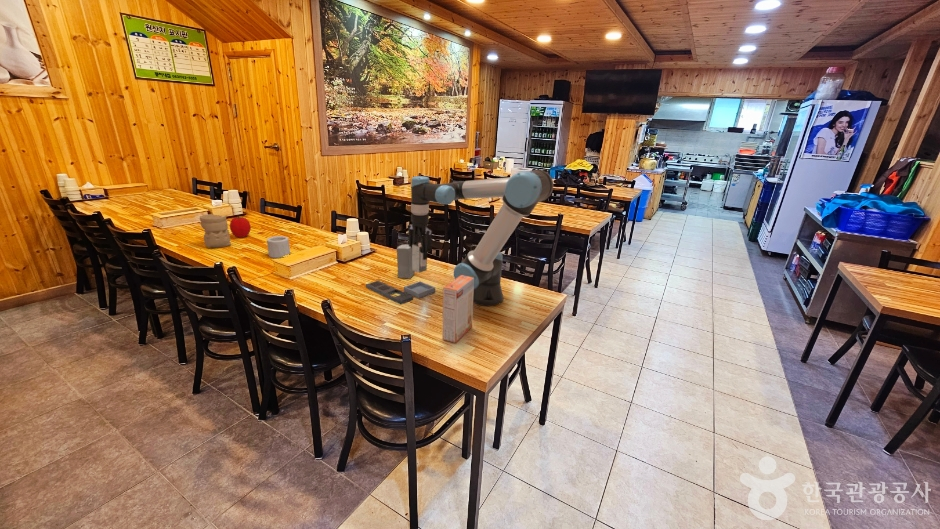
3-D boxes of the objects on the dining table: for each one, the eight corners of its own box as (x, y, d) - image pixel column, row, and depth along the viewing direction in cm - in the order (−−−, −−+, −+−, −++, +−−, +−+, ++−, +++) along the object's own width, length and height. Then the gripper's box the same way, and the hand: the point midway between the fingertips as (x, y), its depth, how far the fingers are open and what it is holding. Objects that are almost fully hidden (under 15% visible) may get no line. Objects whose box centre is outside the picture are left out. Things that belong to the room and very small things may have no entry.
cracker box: (458, 323, 146) (461, 273, 139) (472, 327, 143) (475, 277, 136) (440, 339, 134) (442, 286, 127) (455, 344, 131) (458, 290, 124)
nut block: (426, 270, 168) (427, 245, 164) (419, 272, 165) (419, 247, 161) (419, 267, 171) (420, 242, 167) (412, 270, 168) (412, 244, 163)
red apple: (226, 238, 233) (222, 217, 228) (240, 233, 244) (237, 213, 240) (243, 240, 231) (239, 219, 226) (256, 235, 242) (253, 215, 238)
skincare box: (409, 279, 185) (409, 249, 180) (396, 277, 187) (395, 247, 181) (415, 273, 193) (415, 244, 188) (402, 271, 194) (402, 243, 189)
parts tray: (435, 292, 172) (435, 287, 171) (418, 298, 165) (418, 293, 164) (420, 285, 178) (420, 281, 177) (403, 291, 171) (403, 286, 170)
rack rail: (413, 299, 164) (413, 296, 163) (400, 304, 158) (400, 300, 158) (378, 283, 178) (378, 280, 178) (366, 287, 173) (365, 284, 173)
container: (217, 242, 224) (211, 213, 218) (236, 244, 223) (231, 214, 217) (200, 248, 213) (193, 217, 207) (220, 250, 211) (214, 219, 205)
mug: (294, 255, 210) (292, 238, 207) (276, 259, 202) (273, 242, 198) (280, 250, 217) (278, 233, 213) (262, 254, 208) (259, 237, 205)
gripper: (440, 215, 156) (439, 267, 164) (412, 208, 167) (412, 257, 175) (427, 218, 151) (427, 271, 159) (399, 210, 161) (400, 261, 169)
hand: (419, 264), depth 167 cm, fingers closed on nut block, 5 cm apart
